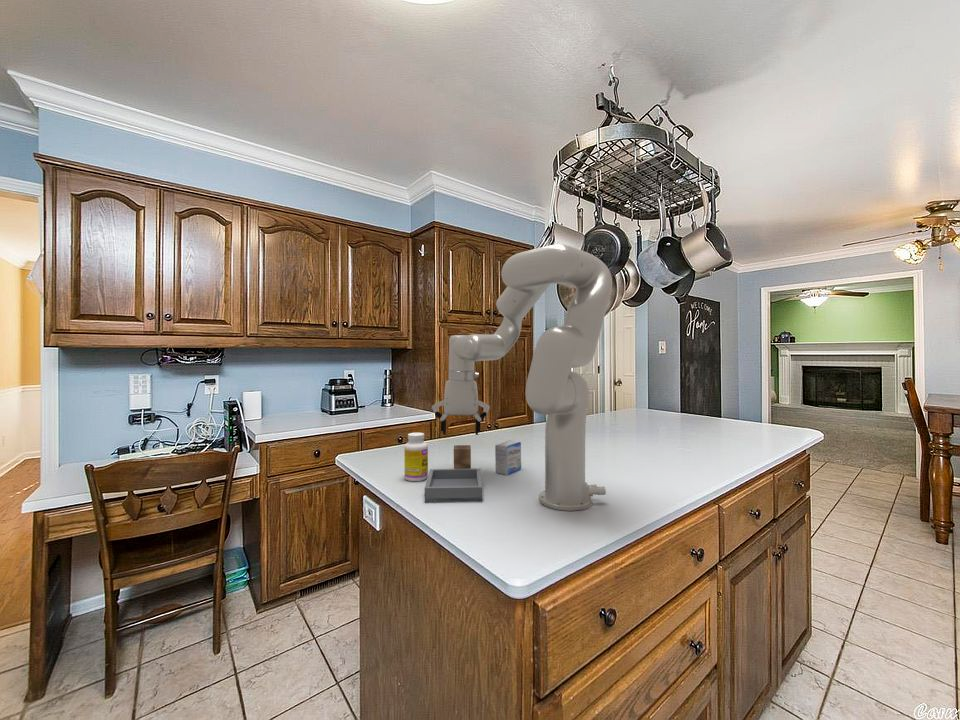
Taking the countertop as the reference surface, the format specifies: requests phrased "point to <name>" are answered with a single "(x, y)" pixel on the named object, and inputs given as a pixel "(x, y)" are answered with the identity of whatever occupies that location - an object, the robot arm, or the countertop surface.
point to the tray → (453, 485)
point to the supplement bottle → (416, 457)
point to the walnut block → (462, 456)
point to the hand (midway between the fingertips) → (460, 433)
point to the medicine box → (508, 457)
